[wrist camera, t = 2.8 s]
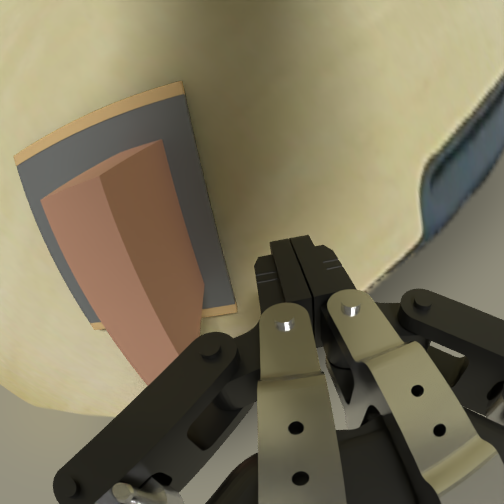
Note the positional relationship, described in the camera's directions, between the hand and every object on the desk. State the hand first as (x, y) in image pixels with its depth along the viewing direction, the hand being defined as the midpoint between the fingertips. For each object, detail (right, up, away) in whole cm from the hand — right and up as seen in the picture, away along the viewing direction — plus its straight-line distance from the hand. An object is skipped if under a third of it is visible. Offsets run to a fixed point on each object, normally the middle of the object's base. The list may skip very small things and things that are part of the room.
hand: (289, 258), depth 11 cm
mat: (-10, +2, +6) cm, 12 cm away
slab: (-7, +2, +5) cm, 9 cm away
